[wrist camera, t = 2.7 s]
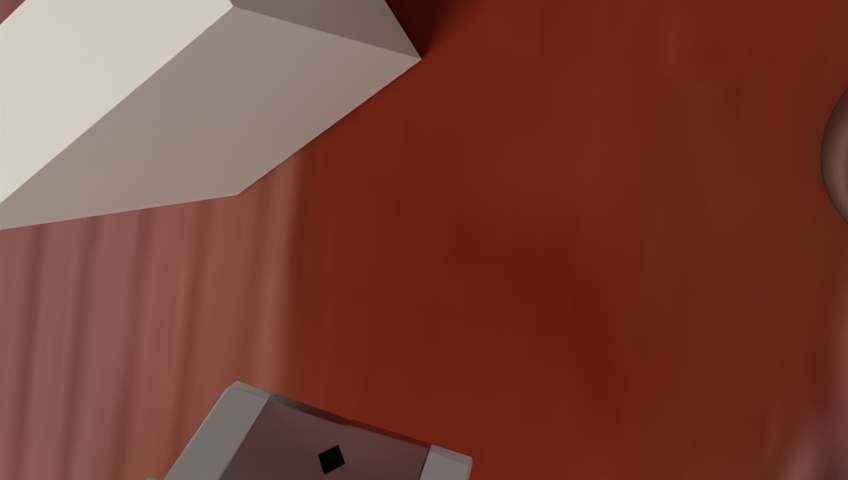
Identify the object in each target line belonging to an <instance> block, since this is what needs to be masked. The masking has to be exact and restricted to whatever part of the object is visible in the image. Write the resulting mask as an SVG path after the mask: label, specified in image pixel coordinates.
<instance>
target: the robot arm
mask: <svg viewBox="0 0 848 480" xmlns="http://www.w3.org/2000/svg"><path fill="white" fill-rule="evenodd" d="M430 446H431V444H430V443H427V442H423V441H420V440H417V439H414V438H411V437H407V436H404V435H401V434H398V433H394V432H391V431H388V430H385V429H382V428H378V427H375V426H372V425H369V424H366V423H362V422H359V421H356V420H349V419H346V418H344V417H341V416H338V415H335V414H332V413H329V412H327V411H324V410H321V409H318V408H315V407H312V406H310V405H307V404H304V403H301V402H298V401H295V400H293V399H290V398H287V397H284V396H281V395H278V394H274V393H271V392H268V391H265V390H262V389H259V388H257V387H254V386H251V385H248V384H245V383H242V382H239V381H236V382H234V383H233V384H232V385H231V386H229V387H228V388H227V389H226V390H225V391H224V393H223V394H222V396H221V397H220V399H219V400H218V401H217V403H216V404H215V406H214V407H213V409H212V410H211V412H210V413H209V414H208V416H207V417H206V419H205V420H204V422H203V423H202V425H201V426H200V427H199V429H198V430H197V432H196V433H195V435H194V436H193V438H192V439H191V440H190V442H189V443H188V445H187V446H186V448H185V449H184V451H183V452H182V453H181V455H180V456H179V458H178V459H177V461H176V462H175V464H174V465H173V466H172V468H171V469H170V471H169V472H168V474H167V475H166V477H165V478H164V479H163V480H468V479H469V475H470V471H471V467H472V457H469V456H466V455H463V454H460V453H457V452H454V451H451V450H447V449H444V448H441V447H438V446H435V445H432V446H431V448H430ZM146 480H158V479H154V478H151V477H150V478H148V479H146Z"/></svg>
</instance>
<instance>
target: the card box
mask: <svg viewBox="0 0 848 480" xmlns="http://www.w3.org/2000/svg"><path fill="white" fill-rule="evenodd" d="M420 60H421V57H420V56H419V54H418V53H417V51H416V49H415V48H414V46H413V45H412V43H411V41H410V40H409V38H408V37H407V35H406V33H405V32H404V30H403V29H402V27H401V26H400V24H399V22H398V21H397V19H396V18H395V16H394V14H393V13H392V11H391V10H390V8H389V6H388V5H387V3H386V2H385V0H26V1H25V2H24V3H23V4H21V5H20V6H19V7H18V8H17V9H16V10H15V11H14V12H13V13H12V14H11V15H10V16H9V17H8V18H7V19H6V20H5V21H4V22H3V23H2V24H1V25H0V230H2V229H9V228H16V227H23V226H29V225H36V224H43V223H50V222H57V221H63V220H70V219H77V218H84V217H91V216H97V215H104V214H111V213H118V212H124V211H131V210H138V209H145V208H152V207H158V206H165V205H172V204H179V203H186V202H192V201H199V200H206V199H213V198H219V197H226V196H233V195H238V194H239V193H241V192H242V191H243V190H245V189H246V188H247V187H249V186H250V185H252V184H253V183H254V182H256V181H257V180H258V179H260V178H261V177H262V176H264V175H265V174H267V173H268V172H269V171H271V170H272V169H273V168H275V167H276V166H277V165H279V164H280V163H281V162H283V161H284V160H286V159H287V158H288V157H290V156H291V155H292V154H294V153H295V152H296V151H298V150H299V149H300V148H302V147H303V146H305V145H306V144H307V143H309V142H310V141H311V140H313V139H314V138H315V137H317V136H318V135H320V134H321V133H322V132H324V131H325V130H326V129H328V128H329V127H330V126H332V125H333V124H334V123H336V122H337V121H339V120H340V119H341V118H343V117H344V116H345V115H347V114H348V113H349V112H351V111H352V110H354V109H355V108H356V107H358V106H359V105H360V104H362V103H363V102H364V101H366V100H367V99H368V98H370V97H371V96H373V95H374V94H375V93H377V92H378V91H379V90H381V89H382V88H383V87H385V86H386V85H387V84H389V83H390V82H392V81H393V80H394V79H396V78H397V77H398V76H400V75H401V74H402V73H404V72H405V71H407V70H408V69H409V68H411V67H412V66H413V65H415V64H416V63H417V62H419V61H420Z"/></svg>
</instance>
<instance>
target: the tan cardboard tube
mask: <svg viewBox="0 0 848 480" xmlns="http://www.w3.org/2000/svg"><path fill="white" fill-rule="evenodd" d="M821 171H822V176H823V180H824V184H825V187H826V190H827V192H828V195H829V197H830V199H831V201H832V203H833V204H834V206H835V208H836V209H837V211H838V212H839V213H840V215H841V216H842V217H843V219H844V220H845V221H846V222H847V223H848V90H847V91H846V92H845V93H844V95H843V96H842V97H841V99H840V100H839V102H838V103H837V105H836V106H835V108H834V110H833V112H832V114H831V116H830V118H829V120H828V123H827V126H826V128H825V131H824V135H823V140H822V145H821Z"/></svg>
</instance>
